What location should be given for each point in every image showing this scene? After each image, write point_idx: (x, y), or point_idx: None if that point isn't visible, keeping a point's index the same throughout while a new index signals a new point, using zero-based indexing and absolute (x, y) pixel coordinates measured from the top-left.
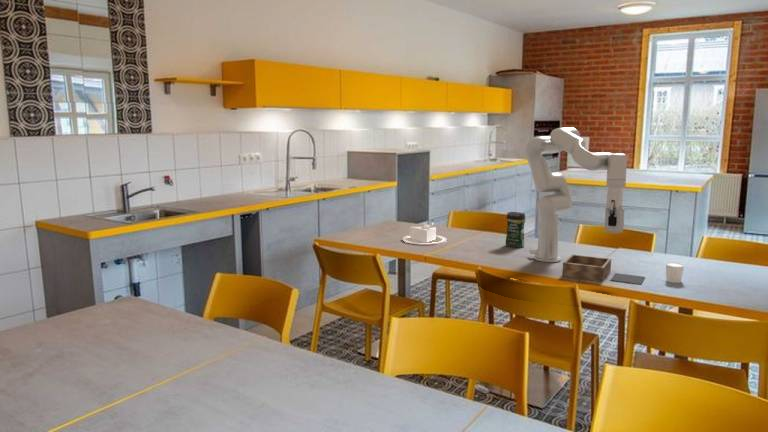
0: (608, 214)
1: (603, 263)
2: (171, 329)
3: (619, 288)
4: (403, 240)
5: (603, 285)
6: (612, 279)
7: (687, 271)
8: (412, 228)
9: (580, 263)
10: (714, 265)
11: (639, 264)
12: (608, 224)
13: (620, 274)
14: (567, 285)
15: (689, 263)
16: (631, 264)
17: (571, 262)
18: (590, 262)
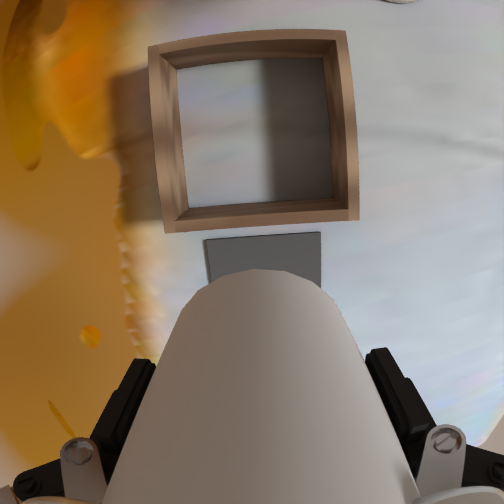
0: (124, 452)
1: (341, 183)
2: None
3: (135, 286)
4: None
5: (133, 234)
6: (215, 245)
7: (433, 388)
8: None
9: (330, 80)
10: (487, 403)
11: (476, 272)
12: (132, 365)
13: (308, 254)
14: (67, 134)
15: (500, 367)
16: (470, 251)
17: (284, 47)
18: (337, 122)
